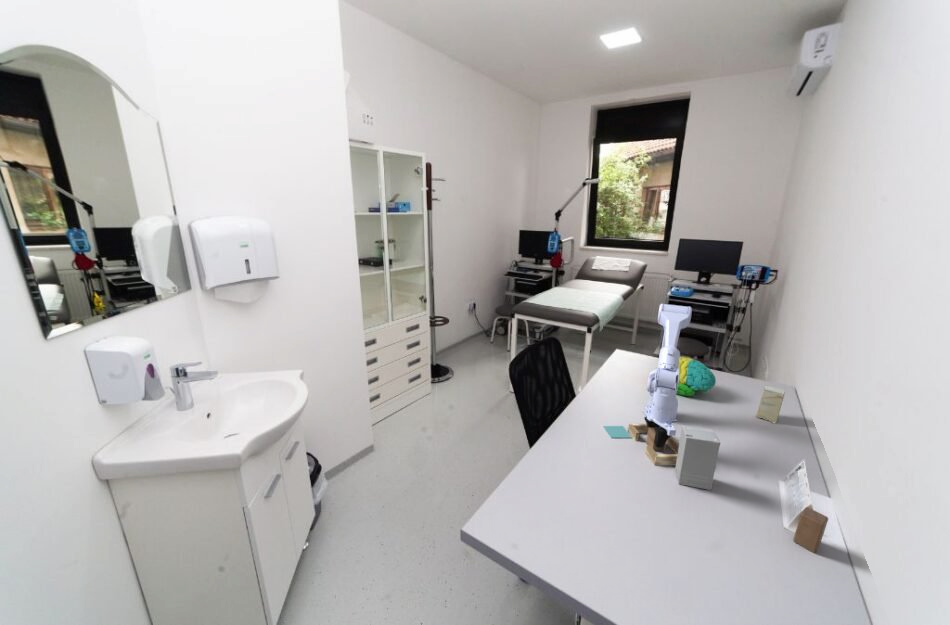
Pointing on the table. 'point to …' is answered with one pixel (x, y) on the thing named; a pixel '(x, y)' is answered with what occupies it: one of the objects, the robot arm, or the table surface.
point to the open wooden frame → (653, 456)
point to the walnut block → (653, 439)
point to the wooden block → (810, 529)
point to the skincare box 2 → (770, 403)
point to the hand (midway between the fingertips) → (655, 442)
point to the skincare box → (697, 457)
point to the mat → (617, 432)
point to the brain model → (694, 377)
